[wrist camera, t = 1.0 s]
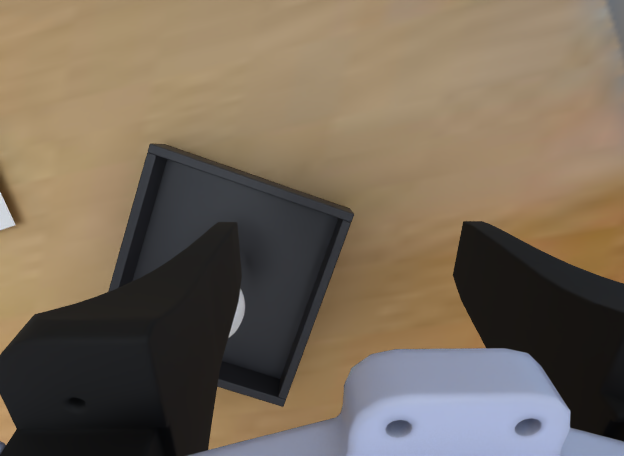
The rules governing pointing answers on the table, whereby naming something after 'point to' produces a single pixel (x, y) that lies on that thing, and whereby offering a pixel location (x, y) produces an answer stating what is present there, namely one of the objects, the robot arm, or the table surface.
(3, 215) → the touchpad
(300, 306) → the pan
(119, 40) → the table surface
